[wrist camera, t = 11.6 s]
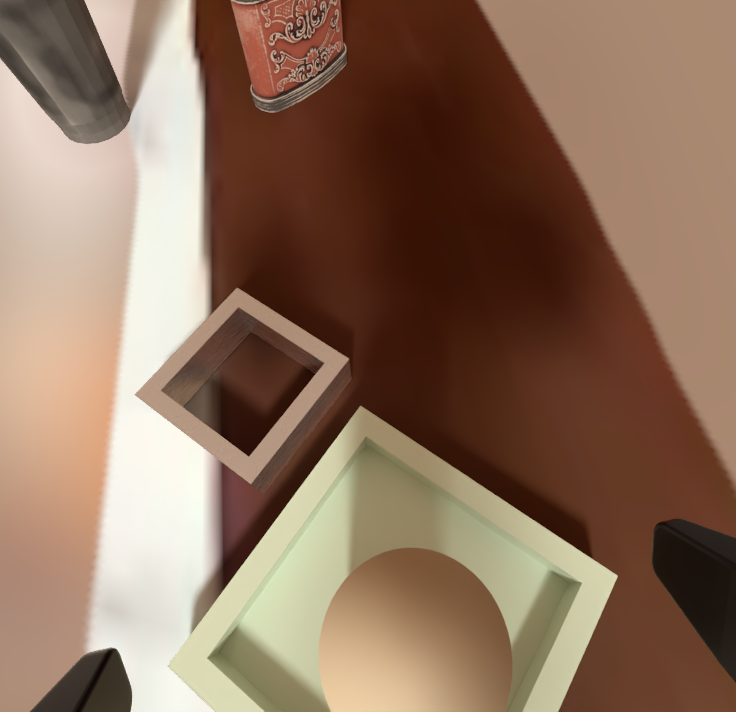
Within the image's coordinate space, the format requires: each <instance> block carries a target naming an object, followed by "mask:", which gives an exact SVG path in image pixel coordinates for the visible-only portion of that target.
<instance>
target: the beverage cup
mask: <svg viewBox="0 0 736 712" xmlns="http://www.w3.org/2000/svg"><path fill="white" fill-rule="evenodd" d="M0 58H1V60H2V61H3V62H4V63H5V64H6V66H7V67H8V68H9V69H10V70H11V72H12V73H13V74H14V75H15V76H16V78H17V79H18V80H19V81H20V83H21V84H22V85H23V86H24V87H25V89H26V90H27V91H28V92H29V93H30V94H31V96H32V97H33V98H34V99H35V100H36V102H37V103H38V104H39V105H40V107H41V108H42V109H43V110H44V111H45V113H46V114H47V115H48V116H49V117H50V118H51V119H52V120H53V121H54V122H55V123H56V124H57V125H58V126H59V127H60V128H61V130H62V131H63V132H64V134H65V135H66V136H67V137H68V138H69V139H71V140H73V141H75V142H78V143H85V144H90V143H99V142H102V141H105V140H108V139H110V138H112V137H114V136H115V135H117V134H119V133H120V132H121V131H122V130H123V129H124V128H125V127H126V125H127V123H128V122H129V118H130V111H129V108H128V106H127V104H126V102H125V99H124V97H123V94H122V90H121V87H120V84H119V82H118V80H117V77H116V75H115V72H114V70H113V68H112V65H111V63H110V60H109V58H108V56H107V53H106V51H105V49H104V46H103V44H102V41H101V39H100V37H99V34H98V32H97V30H96V27H95V25H94V23H93V20H92V18H91V15H90V13H89V10H88V8H87V6H86V4H85V1H84V0H0Z"/></svg>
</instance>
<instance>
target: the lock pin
mask: <svg viewBox="0 0 736 712" xmlns="http://www.w3.org/2000/svg"><path fill="white" fill-rule="evenodd" d="M512 664H513V661H512V650H511V643H510V638H509V633H508V630H507V627H506V624H505V620H504V618H503V615H502V613H501V611H500V609H499V607H498V605H497V603H496V601H495V599H494V598H493V596H492V594H491V593H490V592H489V590H488V589H487V588H486V586H485V585H484V584H483V582H482V581H481V580H480V579H479V578H478V577H477V576H476V575H475V574H474V573H473V572H472V571H470V570H469V569H468V568H467V567H465V566H464V565H463V564H461V563H460V562H458V561H456V560H455V559H453V558H451V557H449V556H447V555H445V554H442V553H439V552H436V551H433V550H429V549H423V548H400V549H394V550H390V551H386V552H383V553H381V554H379V555H376V556H374V557H372V558H370V559H369V560H367V561H365V562H364V563H362V564H361V565H360V566H359V567H357V568H356V569H355V570H354V571H353V572H352V573H351V574H350V575H349V576H348V577H347V578H346V579H345V580H344V582H343V583H342V584H341V586H340V587H339V588H338V590H337V591H336V593H335V595H334V597H333V598H332V600H331V602H330V605H329V607H328V609H327V612H326V614H325V618H324V621H323V624H322V629H321V634H320V640H319V672H320V678H321V684H322V688H323V691H324V695H325V698H326V701H327V704H328V706H329V708H330V711H331V712H504V710H505V708H506V705H507V701H508V698H509V694H510V689H511V682H512Z"/></svg>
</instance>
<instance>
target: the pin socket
mask: <svg viewBox="0 0 736 712" xmlns="http://www.w3.org/2000/svg"><path fill="white" fill-rule="evenodd" d="M250 332H252V333H254V334H255V335H257V336H258V337H260V338H261V339H263V340H264V341H266V342H267V343H269V344H270V345H272V346H273V347H275V348H276V349H278V350H279V351H281V352H282V353H284V354H285V355H287V356H288V357H290V358H291V359H293V360H295V361H296V362H298V363H299V364H301V365H302V366H304V367H305V368H307V369H308V370H310V371H311V372H313V373H314V374H315V376H314V377H313V378H312V379H311V381H310V382H309V383H308V384H307V386H306V387H305V388H304V389H303V390H302V392H301V393H300V394H299V395H298V397H297V398H296V399H295V400H294V402H293V403H292V404H291V405H290V407H289V408H288V409H287V410H286V412H285V413H284V414H283V415H282V417H281V418H280V419H279V420H278V422H277V423H276V424H275V425H274V426H273V428H272V429H271V430H270V431H269V433H268V434H267V435H266V436H265V438H264V439H263V440H262V441H261V443H260V444H259V445H258V446H257V448H256V449H255V450H254V451H253V453H252V454H251V455H250V456H249V457H248V456H247V455H246V454H244V453H243V452H242V451H240V450H239V449H238V448H236V447H235V446H234V445H232V444H231V443H230V442H228V441H227V440H226V439H224V438H223V437H222V436H220V435H219V434H218V433H216V432H215V431H214V430H212V429H211V428H210V427H208V426H207V425H206V424H204V423H203V422H202V421H200V420H199V419H198V418H197V417H195V416H194V415H193V414H191V413H190V412H189V411H187V410H186V409H185V408H183V407H184V405H185V404H186V403H187V402H188V401H189V400H190V399H191V398H192V397H193V395H194V394H195V393H196V392H197V391H198V390H199V389H200V388H201V387H202V385H203V384H204V383H205V382H206V381H207V380H208V379H209V378H210V377H211V375H212V374H213V373H214V372H215V371H216V370H217V369H218V368H219V367H220V365H221V364H222V363H223V362H224V361H225V360H226V359H227V358H228V357H229V356H230V354H231V353H232V352H233V351H234V350H235V349H236V348H237V347H238V346H239V344H240V343H241V342H242V341H243V340H244V339H245V338H246V337H247V336H248V334H249V333H250ZM351 381H352V376H351V368H350V361H349V358H347V357H345V356H344V355H342V354H341V353H339V352H338V351H336V350H334V349H333V348H331V347H330V346H328V345H327V344H325V343H323V342H322V341H320V340H319V339H317V338H316V337H314V336H312V335H311V334H309V333H308V332H306V331H305V330H303V329H301V328H300V327H298V326H297V325H295V324H294V323H292V322H290V321H289V320H287V319H286V318H284V317H283V316H281V315H279V314H278V313H276V312H275V311H273V310H272V309H270V308H268V307H267V306H265V305H264V304H262V303H261V302H259V301H257V300H256V299H254V298H253V297H251V296H250V295H248V294H246V293H245V292H243V291H242V290H240V289H239V288H236V289H235V290H234V291H233V292H232V294H231V295H230V296H229V297H228V298H227V299H226V300H225V301H224V302H223V303H222V304H221V305H220V306H219V307H218V308H217V309H216V310H215V311H214V312H213V313H212V314H211V315H210V317H209V318H208V319H207V320H206V321H205V322H204V323H203V324H202V325H201V326H200V327H199V328H198V329H197V330H196V331H195V332H194V333H193V334H192V335H191V336H190V337H189V339H188V340H187V341H186V342H185V343H184V344H183V345H182V346H181V347H180V348H179V349H178V350H177V351H176V352H175V353H174V354H173V355H172V356H171V357H170V358H169V359H168V360H167V362H166V363H165V364H164V365H163V366H162V367H161V368H160V369H159V370H158V371H157V372H156V373H155V374H154V375H153V376H152V377H151V378H150V379H149V380H148V381H147V382H146V383H145V385H144V386H143V387H142V388H141V389H140V390H139V391H138V392H137V393H136V394H135V395H136V396H137V397H138V398H140V399H141V400H142V401H143V402H145V403H146V404H147V405H149V406H150V407H151V408H153V409H154V410H155V411H156V412H158V413H159V414H160V415H162V416H163V417H164V418H165V419H167V420H168V421H169V422H171V423H172V424H173V425H175V426H176V427H177V428H178V429H180V430H181V431H182V432H184V433H185V434H186V435H188V436H189V437H190V438H191V439H193V440H194V441H195V442H197V443H198V444H199V445H201V446H202V447H203V448H204V449H206V450H207V451H208V452H210V453H211V454H212V455H214V456H215V457H216V458H217V459H219V460H220V461H221V462H223V463H224V464H225V465H227V466H228V467H229V468H230V469H232V470H233V471H234V472H236V473H237V474H238V475H240V476H241V477H242V478H243V479H245V480H246V481H247V482H249V483H250V484H251V485H253V486H254V487H255V488H256V489H258V490H259V491H260V492H262V493H263V494H265V493H266V491H267V490H268V489H269V487H270V486H271V485H272V483H273V482H274V481H275V480H276V478H277V477H278V476H279V474H280V473H281V472H282V470H283V469H284V468H285V467H286V465H287V464H288V463H289V461H290V460H291V459H292V457H293V456H294V455H295V453H296V452H297V451H298V450H299V448H300V447H301V446H302V444H303V443H304V442H305V440H306V439H307V438H308V437H309V435H310V434H311V433H312V431H313V430H314V429H315V427H316V426H317V425H318V424H319V422H320V421H321V420H322V418H323V417H324V416H325V414H326V413H327V412H328V410H329V409H330V408H331V407H332V405H333V404H334V403H335V401H336V400H337V399H338V397H339V396H340V395H341V394H342V392H343V391H344V390H345V388H346V387H347V386H348V384H349V383H350V382H351Z"/></svg>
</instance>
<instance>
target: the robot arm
mask: <svg viewBox="0 0 736 712" xmlns="http://www.w3.org/2000/svg"><path fill="white" fill-rule="evenodd" d="M652 566H653V569H654V571H655V573H656V575H657V577H658V578H659V580H660V581H661V583H662V584H663V585H664V587H665V588H666V590H667V591H668V592H669V594H670V595H671V597H672V598H673V599H674V601H675V602H676V604H677V605H678V606H679V608H680V609H681V611H682V612H683V613H684V615H685V616H686V618H687V619H688V620H689V622H690V623H691V625H692V626H693V627H694V629H695V630H696V631H697V633H698V634H699V636H700V637H701V638H702V640H703V641H704V643H705V644H706V645H707V647H708V648H709V650H710V651H711V652H712V653H713V655H714V656H715V657H716V659H717V660H718V661H719V663H720V664H721V665H722V666H723V668H724V669H725V670H726V671H727V673H728V674H729V675H730V676H731V677H732V679H733V680H734V681H735V682H736V538H734V537H732V536H729V535H726V534H723V533H720V532H717V531H715V530H712V529H709V528H706V527H703V526H700V525H698V524H695V523H692V522H689V521H686V520H683V519H672V520H668V521H663V522H660V523H658V524H657V525H656V526H655V528H654V535H653V549H652ZM131 705H132V690H131V685H130V682H129V679H128V676H127V674H126V671H125V668H124V665H123V662H122V659H121V656H120V654H119V652H118V651H117V649H115V648H107V649H102V650H98V651H94V652H90V653H87V654H85V655H84V656H83V657H82V658H81V659H80V660H79V661H78V662H77V663H76V664H75V665H74V666H73V667H72V668H71V669H70V670H69V671H68V672H67V673H66V674H65V675H64V677H62V679H61V680H60V681H59V682H58V683H57V684H56V685H55V686H54V687H53V688H52V689H51V690H50V691H49V692H48V693H47V694H46V695H45V697H43V699H42V700H41V701H40V702H39V703H38V704H37V705H36V706H35V707H34V708H33V709H32V710H31V711H30V712H130V711H131Z"/></svg>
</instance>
